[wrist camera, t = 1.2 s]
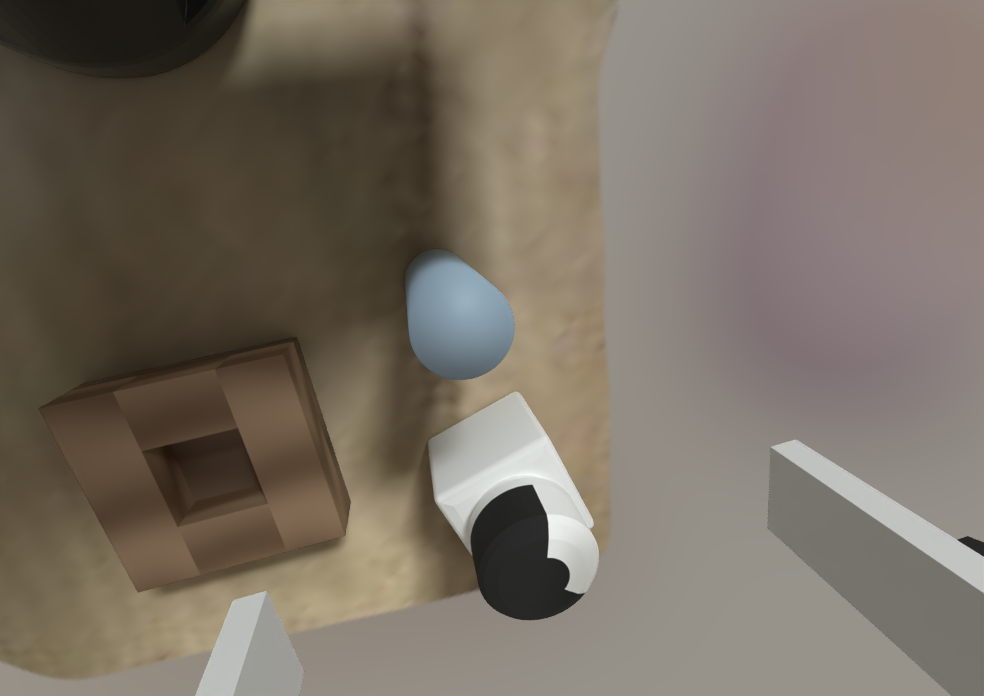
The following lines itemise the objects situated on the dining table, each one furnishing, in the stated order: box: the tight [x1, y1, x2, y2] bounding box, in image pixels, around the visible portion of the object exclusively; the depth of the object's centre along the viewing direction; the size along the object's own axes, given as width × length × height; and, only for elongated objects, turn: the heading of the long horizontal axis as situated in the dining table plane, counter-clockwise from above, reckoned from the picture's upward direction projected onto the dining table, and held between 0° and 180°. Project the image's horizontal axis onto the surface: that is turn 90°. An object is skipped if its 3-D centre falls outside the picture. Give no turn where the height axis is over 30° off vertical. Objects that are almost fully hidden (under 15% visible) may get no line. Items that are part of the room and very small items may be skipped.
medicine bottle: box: [428, 391, 599, 620], centre depth 27 cm, size 7×7×12 cm
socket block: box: [39, 337, 351, 592], centre depth 28 cm, size 12×12×4 cm
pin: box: [405, 249, 514, 380], centre depth 23 cm, size 4×4×12 cm
